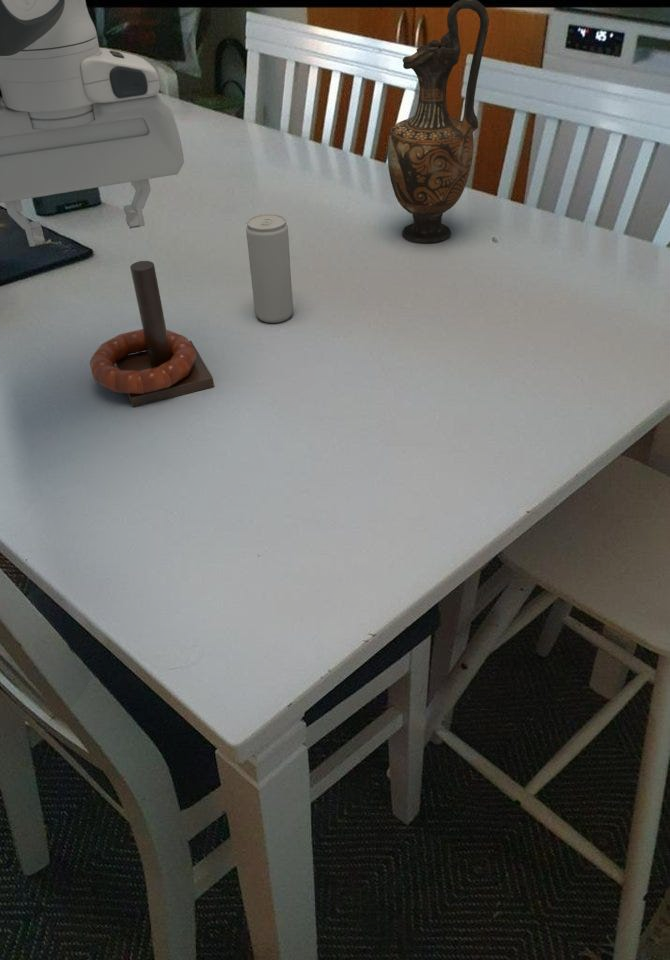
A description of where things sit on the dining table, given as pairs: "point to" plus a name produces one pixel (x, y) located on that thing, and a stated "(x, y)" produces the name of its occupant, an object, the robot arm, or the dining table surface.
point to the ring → (142, 379)
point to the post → (158, 341)
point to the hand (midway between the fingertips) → (87, 234)
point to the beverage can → (270, 267)
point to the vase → (435, 134)
